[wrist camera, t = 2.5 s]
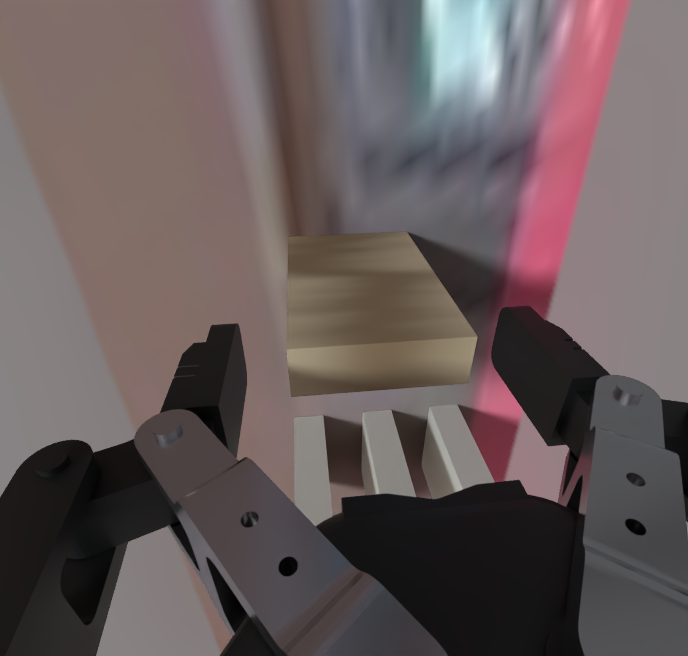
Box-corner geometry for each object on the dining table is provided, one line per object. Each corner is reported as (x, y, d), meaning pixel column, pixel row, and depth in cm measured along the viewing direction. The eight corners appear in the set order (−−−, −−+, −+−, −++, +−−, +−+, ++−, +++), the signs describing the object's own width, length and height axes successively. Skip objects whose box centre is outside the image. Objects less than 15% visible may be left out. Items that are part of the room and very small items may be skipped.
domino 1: (294, 417, 23) (295, 566, 16) (323, 415, 23) (336, 561, 16) (300, 476, 25) (303, 624, 19) (326, 474, 26) (338, 620, 19)
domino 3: (362, 412, 23) (392, 555, 16) (391, 409, 23) (431, 551, 16) (361, 470, 26) (386, 614, 19) (386, 468, 26) (420, 610, 19)
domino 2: (291, 272, 18) (291, 397, 11) (288, 237, 17) (286, 349, 10) (404, 266, 18) (467, 383, 12) (406, 231, 18) (477, 336, 11)
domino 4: (429, 406, 23) (485, 545, 17) (457, 404, 23) (523, 540, 17) (421, 465, 26) (466, 604, 19) (446, 462, 26) (498, 600, 19)
